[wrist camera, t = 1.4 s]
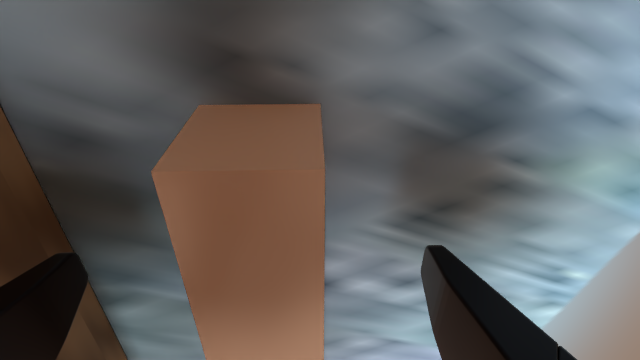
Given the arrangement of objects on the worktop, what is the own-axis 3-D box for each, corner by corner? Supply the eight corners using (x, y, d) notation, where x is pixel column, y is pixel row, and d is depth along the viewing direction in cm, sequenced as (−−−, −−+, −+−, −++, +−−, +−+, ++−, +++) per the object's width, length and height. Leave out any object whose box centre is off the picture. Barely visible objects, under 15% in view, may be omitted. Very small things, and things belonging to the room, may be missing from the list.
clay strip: (320, 378, 19) (322, 472, 15) (252, 380, 19) (240, 475, 15) (320, 100, 11) (325, 169, 7) (201, 101, 11) (151, 171, 7)
